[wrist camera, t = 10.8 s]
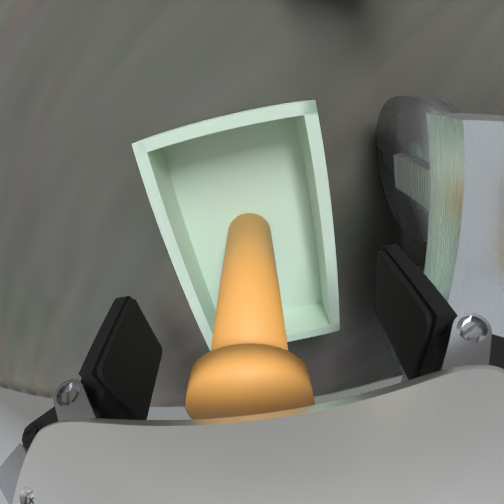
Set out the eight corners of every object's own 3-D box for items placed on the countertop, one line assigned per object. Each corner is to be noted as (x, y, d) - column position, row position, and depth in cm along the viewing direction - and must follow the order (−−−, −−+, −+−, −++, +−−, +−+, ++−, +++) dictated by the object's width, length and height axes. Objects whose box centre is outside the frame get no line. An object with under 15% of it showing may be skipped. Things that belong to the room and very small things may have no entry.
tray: (150, 136, 14) (131, 143, 12) (301, 100, 14) (315, 99, 11) (214, 323, 20) (211, 354, 18) (328, 301, 20) (339, 330, 17)
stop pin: (212, 211, 16) (163, 381, 6) (273, 198, 16) (309, 364, 6) (227, 264, 17) (209, 440, 8) (284, 253, 17) (317, 428, 7)
